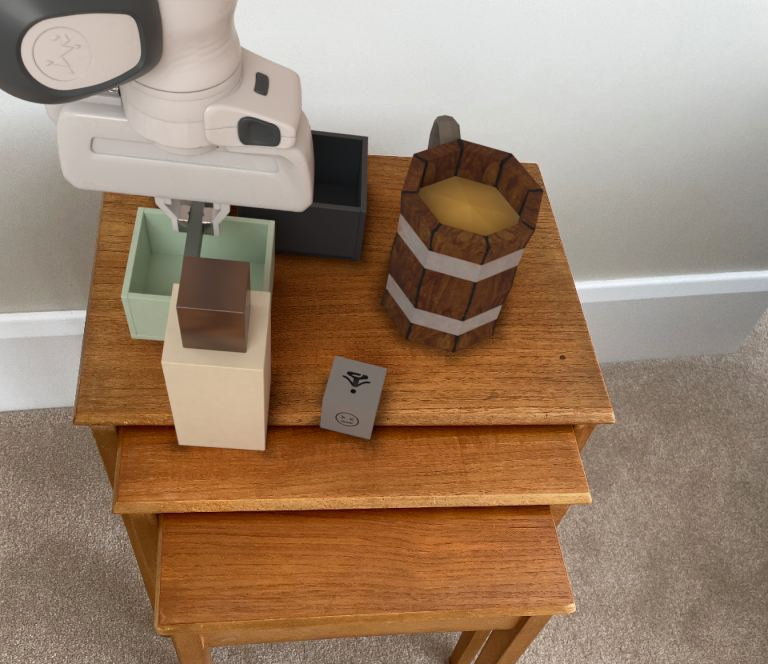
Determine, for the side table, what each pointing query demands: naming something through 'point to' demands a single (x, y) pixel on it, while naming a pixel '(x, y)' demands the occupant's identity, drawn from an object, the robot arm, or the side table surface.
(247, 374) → the stand
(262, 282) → the basket with handle
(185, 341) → the block
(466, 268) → the mug
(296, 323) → the side table surface
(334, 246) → the black open box
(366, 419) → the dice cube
